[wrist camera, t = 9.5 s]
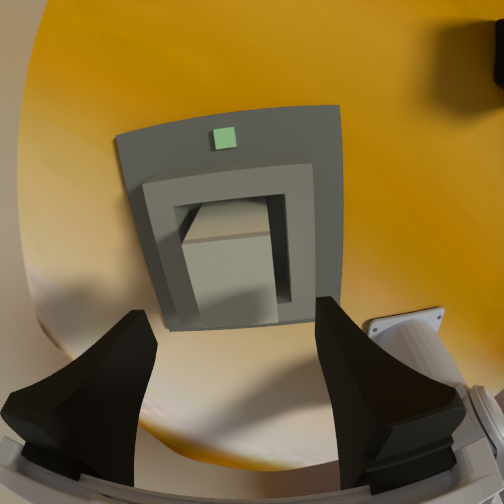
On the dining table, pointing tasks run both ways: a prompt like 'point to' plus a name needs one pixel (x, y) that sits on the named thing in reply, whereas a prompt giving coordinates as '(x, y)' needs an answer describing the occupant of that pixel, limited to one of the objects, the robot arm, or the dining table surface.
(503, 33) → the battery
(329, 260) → the socket dock
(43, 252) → the dining table surface
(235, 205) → the plug
